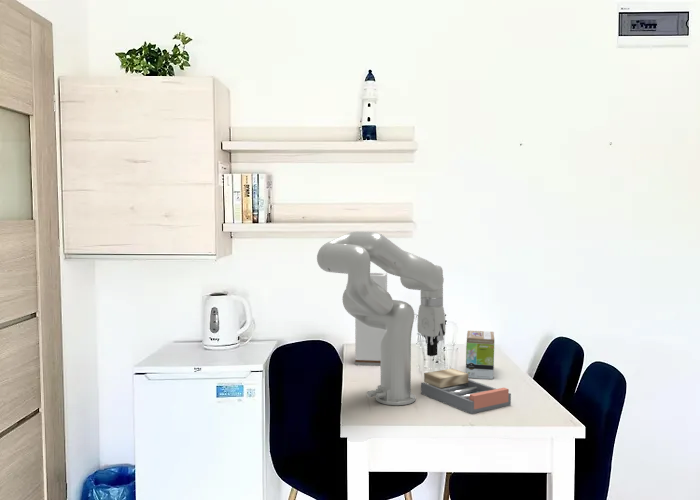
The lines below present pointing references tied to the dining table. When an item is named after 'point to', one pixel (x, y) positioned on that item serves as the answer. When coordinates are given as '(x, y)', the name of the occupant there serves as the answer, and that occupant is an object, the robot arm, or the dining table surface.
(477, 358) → the tea box
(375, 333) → the tall white box
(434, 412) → the dining table surface
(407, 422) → the dining table surface
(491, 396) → the end stop
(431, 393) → the roller track
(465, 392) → the rollers
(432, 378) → the oak slab
